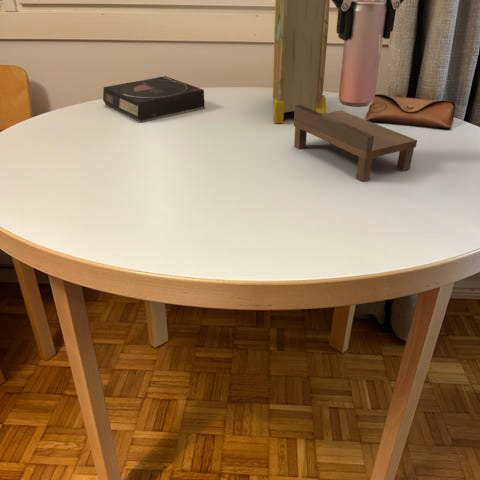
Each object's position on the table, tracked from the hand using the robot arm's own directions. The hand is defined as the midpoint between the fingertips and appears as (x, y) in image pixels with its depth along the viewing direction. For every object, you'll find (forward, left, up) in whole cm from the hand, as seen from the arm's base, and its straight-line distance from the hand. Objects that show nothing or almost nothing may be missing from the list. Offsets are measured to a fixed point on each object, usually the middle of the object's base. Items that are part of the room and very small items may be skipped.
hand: (363, 36), depth 84 cm
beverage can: (0, 0, -10) cm, 10 cm away
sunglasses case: (-24, -10, -20) cm, 33 cm away
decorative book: (-8, -28, -20) cm, 35 cm away
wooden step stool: (0, 0, -19) cm, 19 cm away
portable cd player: (+18, -48, -20) cm, 55 cm away
